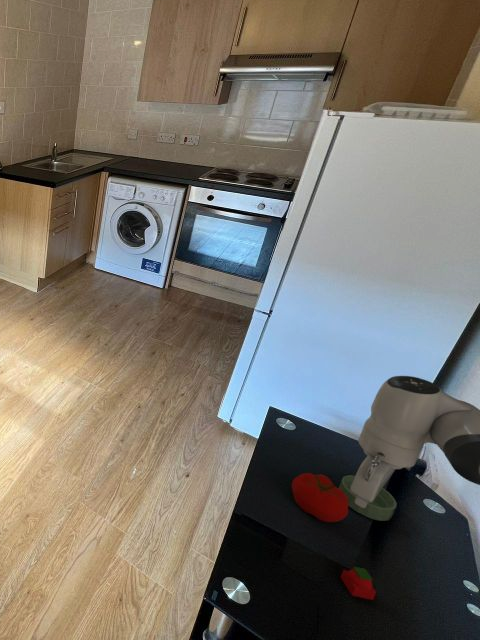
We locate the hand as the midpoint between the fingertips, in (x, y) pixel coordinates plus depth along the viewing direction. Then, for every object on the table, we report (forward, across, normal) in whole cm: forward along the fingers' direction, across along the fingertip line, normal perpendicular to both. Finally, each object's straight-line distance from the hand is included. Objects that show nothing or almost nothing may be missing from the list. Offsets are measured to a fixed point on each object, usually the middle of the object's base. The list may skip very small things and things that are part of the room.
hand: (367, 494), depth 91 cm
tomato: (+21, +12, +9) cm, 26 cm away
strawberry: (+21, -5, -4) cm, 22 cm away
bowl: (+21, +26, +2) cm, 33 cm away
